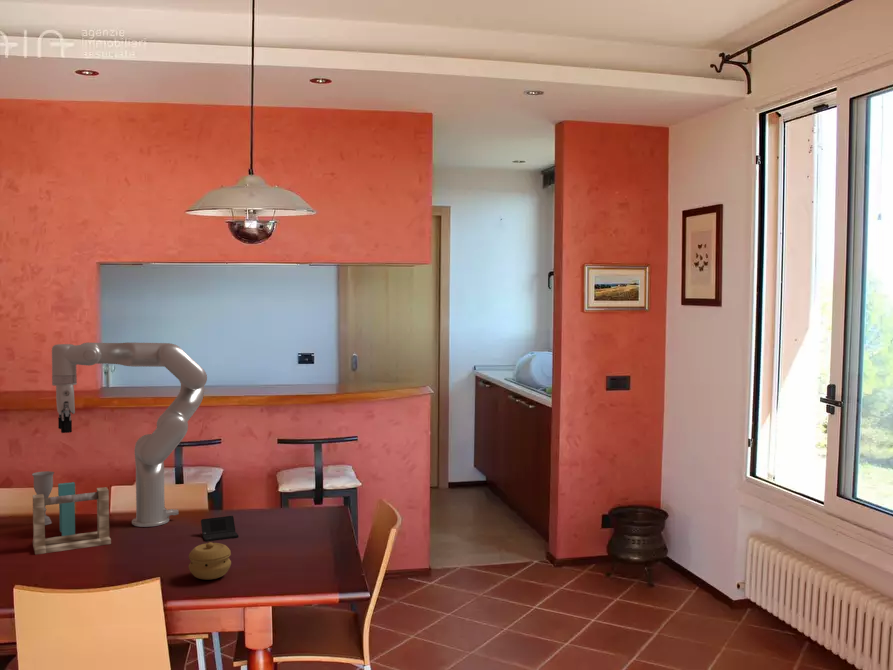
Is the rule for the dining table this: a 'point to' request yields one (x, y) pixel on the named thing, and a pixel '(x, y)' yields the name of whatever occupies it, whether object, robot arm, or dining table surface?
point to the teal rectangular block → (67, 509)
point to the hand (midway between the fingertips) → (65, 430)
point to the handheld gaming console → (218, 528)
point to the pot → (209, 560)
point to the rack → (101, 534)
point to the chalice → (43, 487)
